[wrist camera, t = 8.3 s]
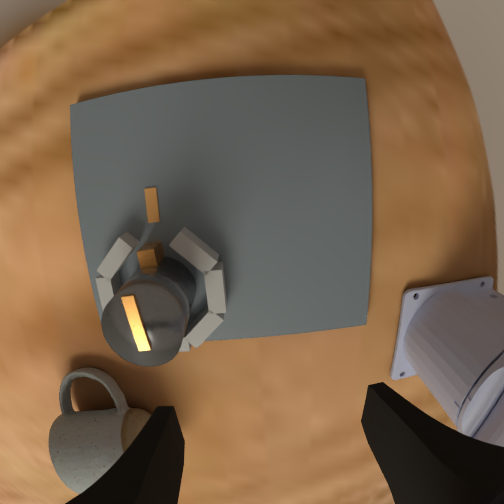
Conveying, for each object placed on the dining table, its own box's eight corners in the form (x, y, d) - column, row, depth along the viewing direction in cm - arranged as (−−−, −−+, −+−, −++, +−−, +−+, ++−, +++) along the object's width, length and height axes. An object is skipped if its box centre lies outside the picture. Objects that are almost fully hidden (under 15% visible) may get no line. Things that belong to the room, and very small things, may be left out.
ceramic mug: (182, 444, 24) (171, 512, 17) (110, 451, 24) (90, 509, 17) (121, 352, 21) (83, 420, 14) (48, 369, 22) (6, 424, 14)
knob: (201, 312, 20) (191, 365, 14) (142, 319, 20) (115, 371, 14) (185, 236, 18) (164, 267, 13) (122, 247, 18) (82, 281, 13)
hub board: (360, 81, 17) (374, 72, 15) (362, 319, 21) (374, 335, 19) (75, 106, 16) (58, 101, 14) (110, 337, 21) (99, 354, 18)
